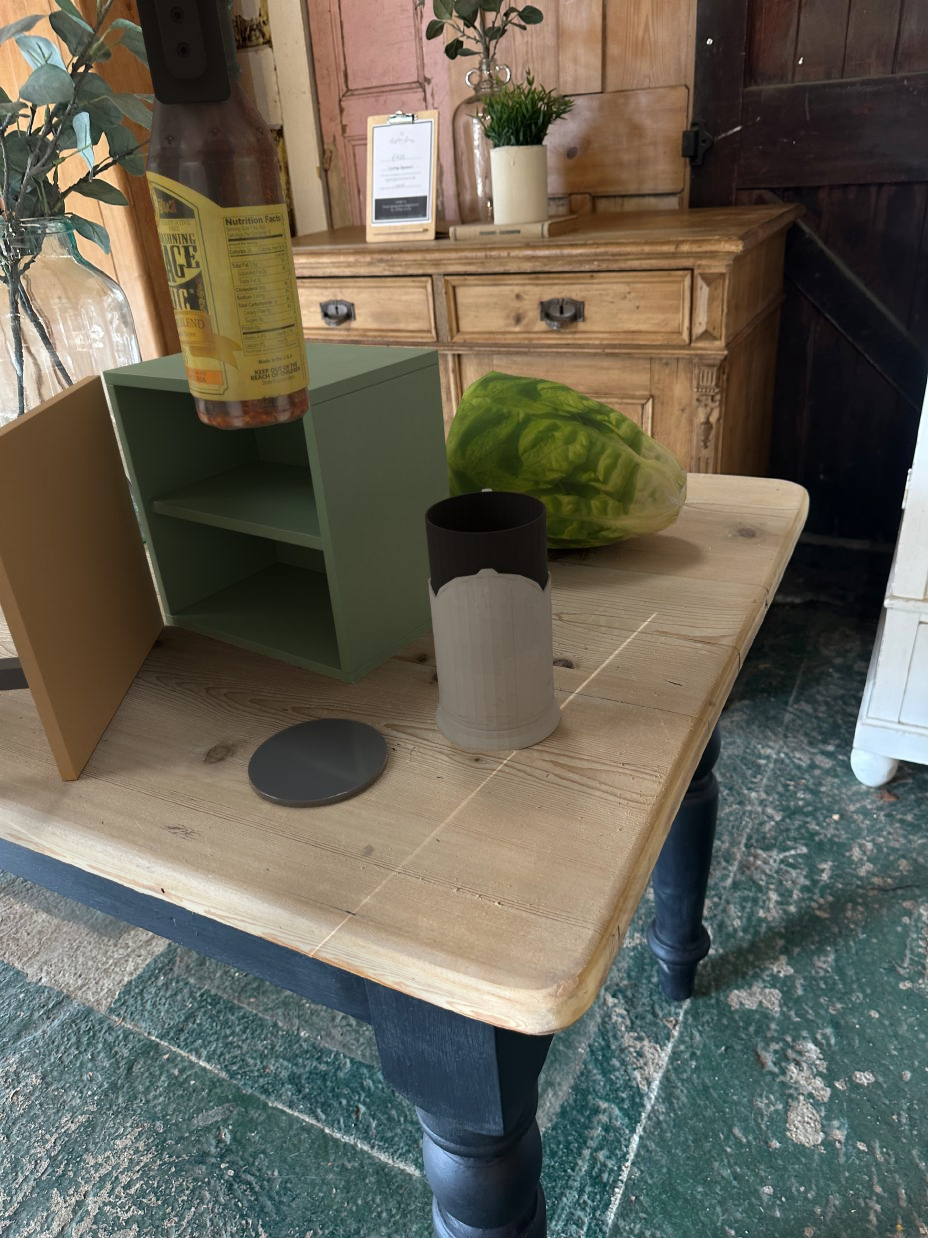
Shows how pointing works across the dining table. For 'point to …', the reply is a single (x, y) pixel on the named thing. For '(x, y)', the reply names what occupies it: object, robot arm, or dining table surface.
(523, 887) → the dining table surface
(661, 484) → the lettuce
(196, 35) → the robot arm
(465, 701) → the glass holder
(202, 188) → the sauce bottle
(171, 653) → the dining table surface
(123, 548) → the cupboard door
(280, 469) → the cupboard
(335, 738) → the coaster
